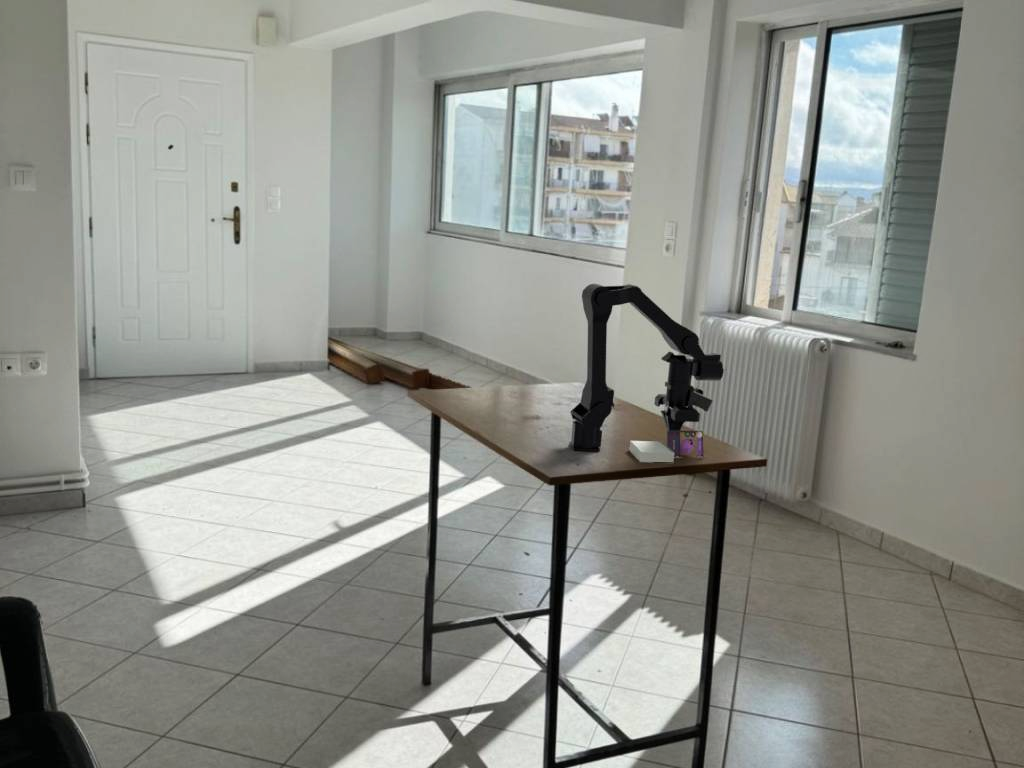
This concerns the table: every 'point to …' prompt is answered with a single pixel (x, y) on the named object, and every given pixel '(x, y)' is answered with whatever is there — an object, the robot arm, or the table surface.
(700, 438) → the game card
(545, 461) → the table surface
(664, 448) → the slab
